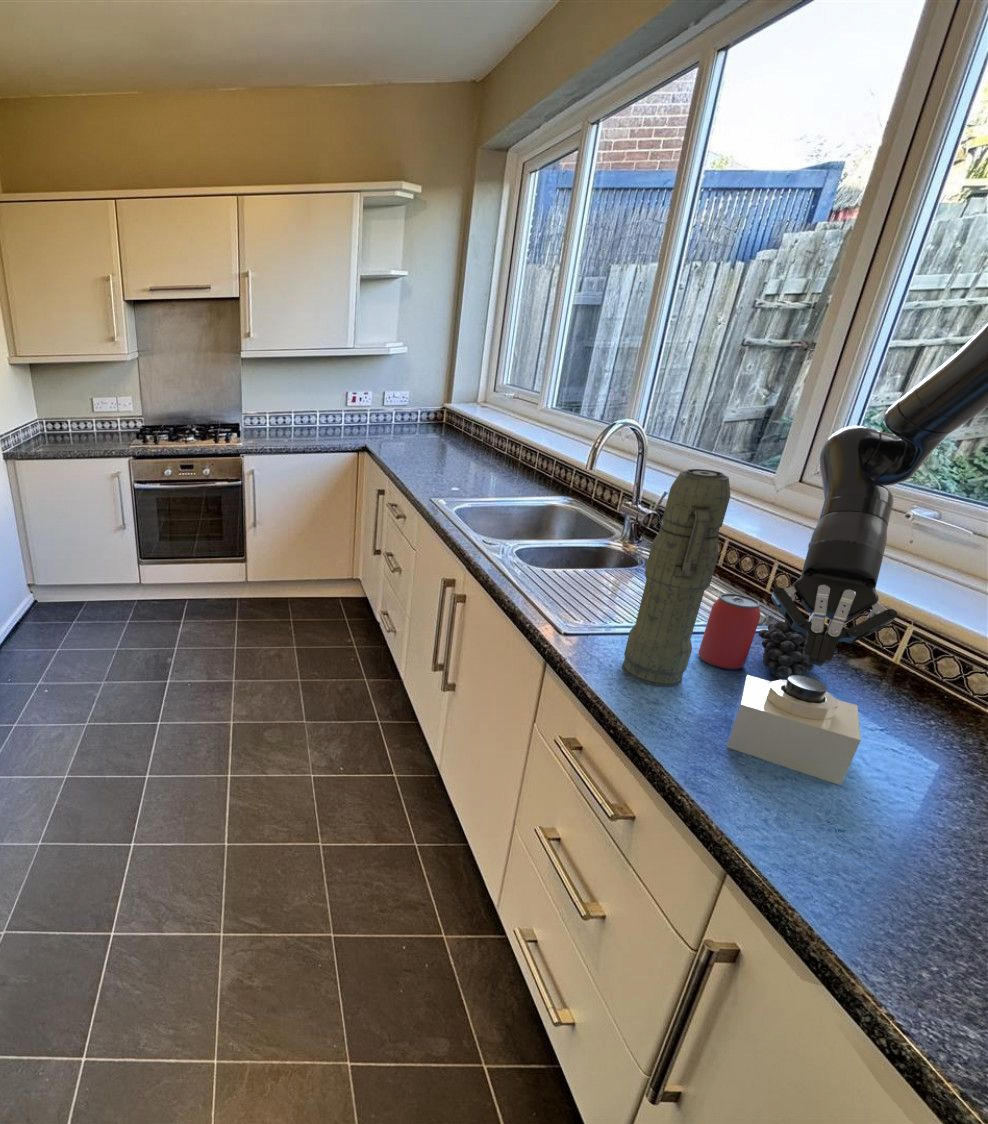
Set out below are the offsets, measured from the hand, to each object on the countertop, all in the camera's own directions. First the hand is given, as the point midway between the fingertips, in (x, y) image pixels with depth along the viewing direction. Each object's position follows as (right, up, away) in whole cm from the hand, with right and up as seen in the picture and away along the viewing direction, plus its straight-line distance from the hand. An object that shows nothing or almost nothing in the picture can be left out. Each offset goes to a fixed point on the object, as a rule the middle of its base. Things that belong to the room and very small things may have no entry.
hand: (815, 662), depth 82 cm
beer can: (+8, -4, +27) cm, 29 cm away
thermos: (-6, -6, +24) cm, 25 cm away
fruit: (+17, -5, +24) cm, 30 cm away
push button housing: (0, -13, +5) cm, 14 cm away
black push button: (0, -5, +2) cm, 5 cm away
